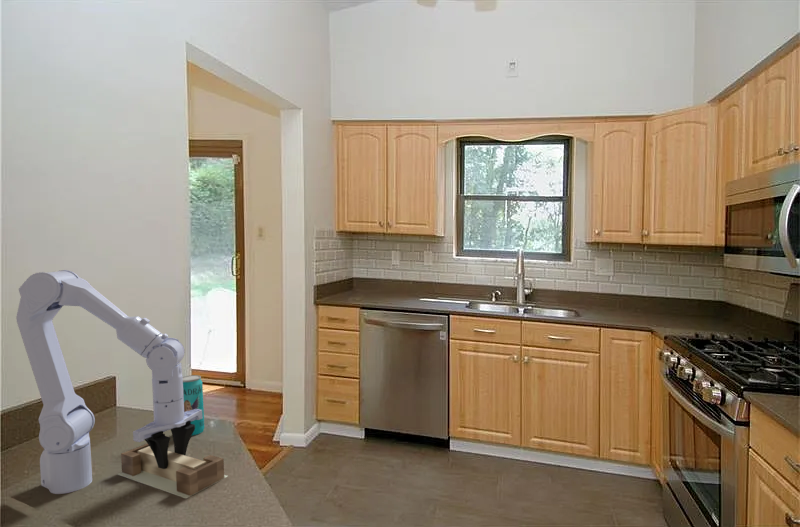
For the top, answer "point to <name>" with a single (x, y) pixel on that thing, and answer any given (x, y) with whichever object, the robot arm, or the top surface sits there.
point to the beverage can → (194, 399)
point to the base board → (157, 482)
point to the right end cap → (200, 476)
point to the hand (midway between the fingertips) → (171, 463)
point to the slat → (174, 463)
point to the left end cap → (132, 461)
